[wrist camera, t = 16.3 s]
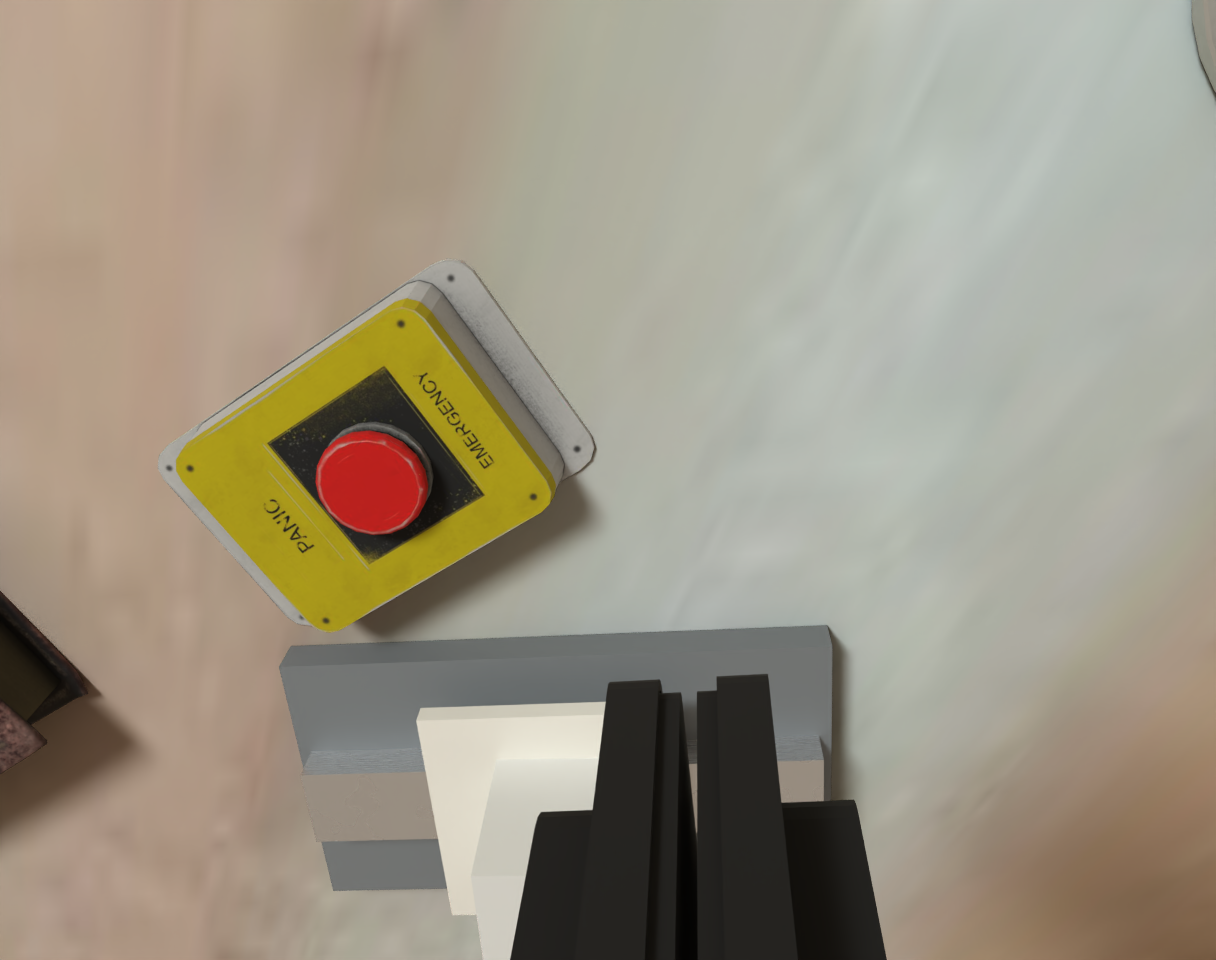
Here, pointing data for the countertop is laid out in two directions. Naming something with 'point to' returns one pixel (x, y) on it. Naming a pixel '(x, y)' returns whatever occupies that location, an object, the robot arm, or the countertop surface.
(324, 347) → the emergency button
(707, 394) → the countertop surface
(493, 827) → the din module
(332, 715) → the rail mount
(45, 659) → the diary
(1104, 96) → the countertop surface
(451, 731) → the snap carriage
